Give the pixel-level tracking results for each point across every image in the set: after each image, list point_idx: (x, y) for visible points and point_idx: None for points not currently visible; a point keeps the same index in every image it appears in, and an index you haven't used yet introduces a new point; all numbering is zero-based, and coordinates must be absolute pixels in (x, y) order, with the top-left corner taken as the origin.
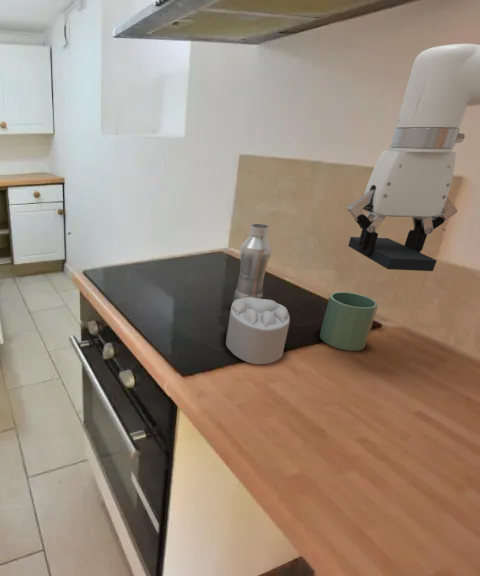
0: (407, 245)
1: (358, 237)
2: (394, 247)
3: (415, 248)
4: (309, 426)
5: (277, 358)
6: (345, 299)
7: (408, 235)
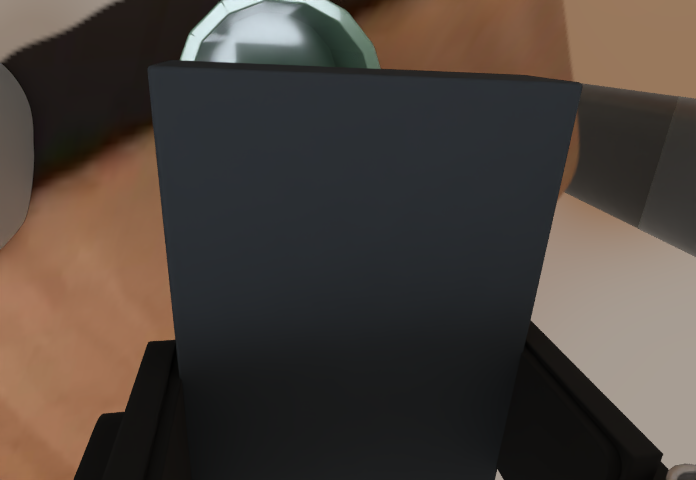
0: (521, 390)
1: (240, 98)
2: (398, 423)
3: (502, 476)
4: (50, 472)
5: (1, 248)
6: (293, 5)
7: (578, 428)
